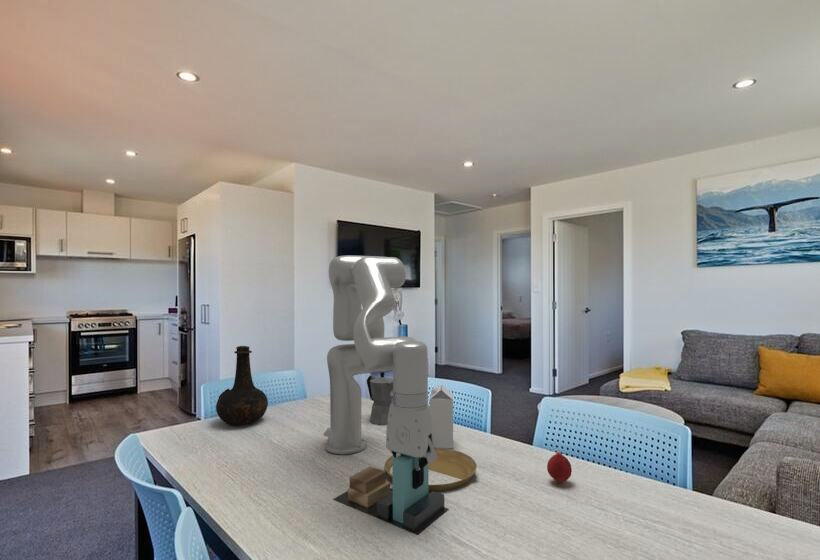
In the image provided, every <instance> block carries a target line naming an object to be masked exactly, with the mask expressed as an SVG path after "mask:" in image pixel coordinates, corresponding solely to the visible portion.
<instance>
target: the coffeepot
mask: <svg viewBox="0 0 820 560" xmlns="http://www.w3.org/2000/svg"><path fill="white" fill-rule="evenodd" d="M379 375H380V376H379V377H378V376H373V375H369V376H368V377H367V379H366V384H367V388H368V394H369V398H371V399H373V402H372V405H371V412H370V416H369V417H370V419H369V421H370V423H371V424H372V425H376V424H377V425H376V426H387V419H388V413H389V408H390V404H391V403H393V402H392V401H393V396H390V392H391V391H392V390H393V377H386V376H385V371H380V373H379Z"/></svg>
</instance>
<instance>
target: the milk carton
mask: <svg viewBox="0 0 820 560" xmlns="http://www.w3.org/2000/svg"><path fill="white" fill-rule="evenodd" d="M430 392H431V393H430V395H429V396H430V397H429V406H430V409H431V413H432V419H433V428H434V447H438V448H447V449H454V401H453V400H454V394H453V393H452V391H450V390H449V389H447V388H446V387H445V385H443V381H441V382H440V385H439V386H438V387H436V386H434V387H433V388H432V389H431V390H430Z"/></svg>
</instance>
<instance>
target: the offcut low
mask: <svg viewBox="0 0 820 560" xmlns="http://www.w3.org/2000/svg"><path fill="white" fill-rule="evenodd" d="M390 488H391V482H390V481H387V480H386V482H385V483H384V484H382V485H380V486H378V487H377V488H375V489H373V490H372V491H370V492H368V493H367V494H365V493H362V492H359V491H357V490H354V489H352V488H350V487H348V488H347V491H348V500H350V501H353V502H355V503H358V504H360V505H363V506H365V507H369V506H371V505H372V504H374V503H376V502H377V501H379V500H380V499H382V498H384V497H385V496H387V495H388V494H390Z"/></svg>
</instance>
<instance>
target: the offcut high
mask: <svg viewBox="0 0 820 560" xmlns="http://www.w3.org/2000/svg"><path fill="white" fill-rule="evenodd" d="M386 475H387V472H386V470H382V469H380V468H376V467H373V466H368V467H366V468H364V469H362V470H361V471H359V472H356V473H354V474H352V475H351V476H349V488H352V489H354V490H357V491H359V492H362V493H365V494H367V493H368V492H370V491H372V490H373V489H375V488H377V487H378V486H380V485H382V484H384V483H385V482H386V481H387V479H386V477H387V476H386Z"/></svg>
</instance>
